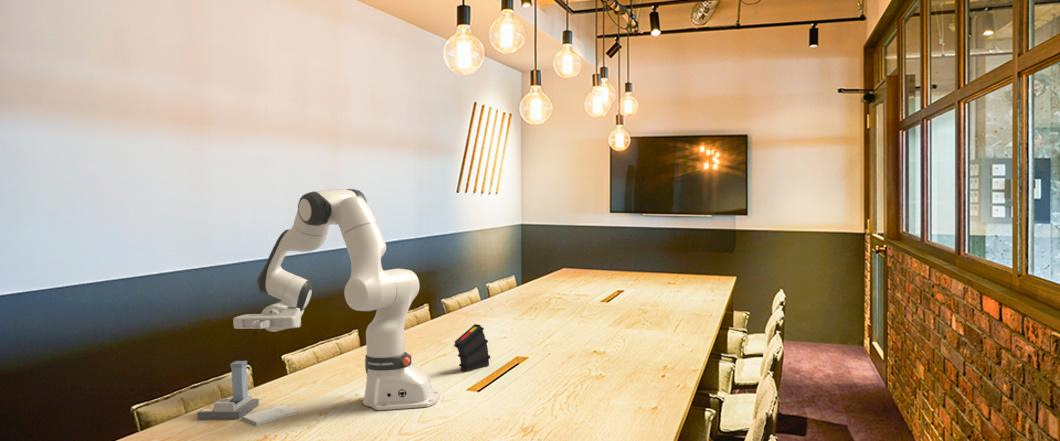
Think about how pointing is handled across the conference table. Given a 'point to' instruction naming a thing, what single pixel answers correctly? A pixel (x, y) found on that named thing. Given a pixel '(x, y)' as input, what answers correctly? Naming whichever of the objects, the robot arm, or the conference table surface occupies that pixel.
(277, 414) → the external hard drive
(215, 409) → the grey stepped square base
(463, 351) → the magazine
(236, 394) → the switch tab
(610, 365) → the conference table surface
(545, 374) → the conference table surface
